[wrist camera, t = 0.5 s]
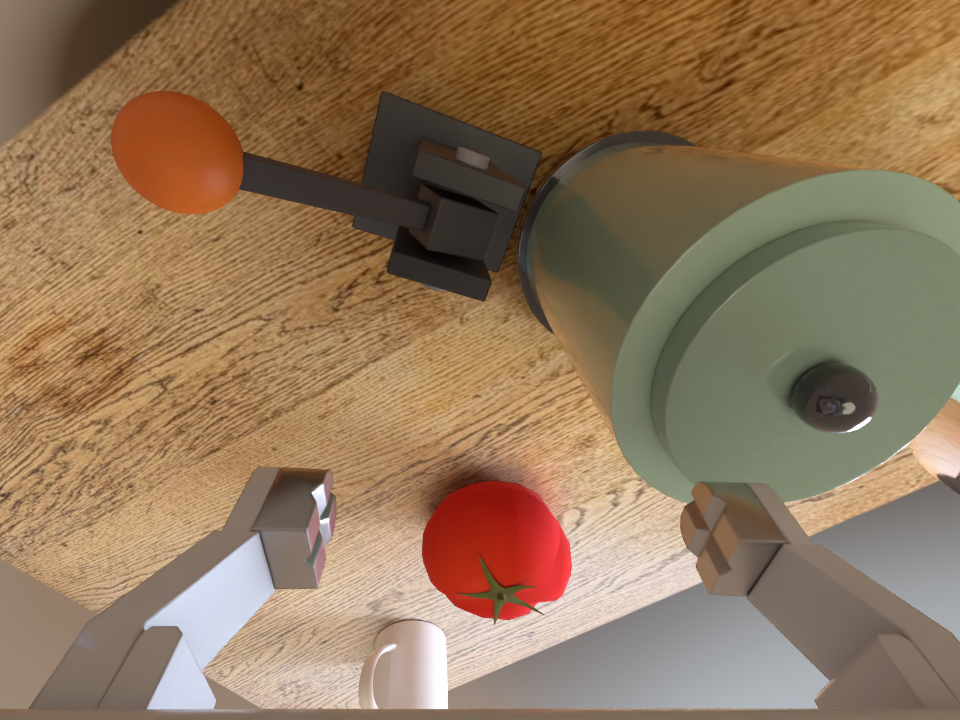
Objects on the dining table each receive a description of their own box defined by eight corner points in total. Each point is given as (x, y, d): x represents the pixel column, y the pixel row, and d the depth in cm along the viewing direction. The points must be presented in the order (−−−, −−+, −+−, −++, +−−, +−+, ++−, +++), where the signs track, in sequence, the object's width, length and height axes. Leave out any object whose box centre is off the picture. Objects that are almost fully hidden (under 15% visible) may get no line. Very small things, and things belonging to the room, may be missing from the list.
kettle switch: (118, 183, 16) (102, 214, 13) (119, 68, 14) (101, 76, 12) (451, 252, 23) (483, 281, 21) (474, 179, 22) (512, 201, 19)
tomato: (535, 550, 47) (560, 653, 38) (412, 536, 44) (407, 643, 35) (574, 466, 42) (613, 561, 33) (438, 445, 40) (440, 542, 31)
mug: (457, 647, 53) (463, 758, 44) (396, 669, 54) (389, 782, 45) (407, 587, 48) (402, 700, 39) (340, 612, 49) (319, 729, 39)
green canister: (485, 314, 34) (549, 545, 16) (567, 92, 28) (831, 48, 10) (659, 364, 38) (876, 601, 20) (767, 176, 32) (1239, 263, 13)
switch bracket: (354, 223, 31) (310, 287, 19) (383, 91, 27) (351, 74, 16) (496, 268, 33) (530, 348, 22) (538, 151, 30) (605, 173, 18)
